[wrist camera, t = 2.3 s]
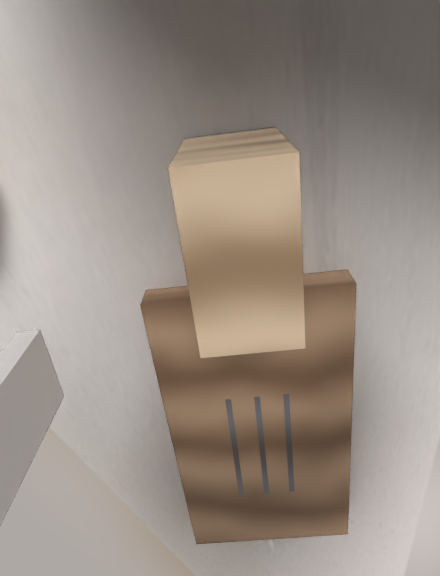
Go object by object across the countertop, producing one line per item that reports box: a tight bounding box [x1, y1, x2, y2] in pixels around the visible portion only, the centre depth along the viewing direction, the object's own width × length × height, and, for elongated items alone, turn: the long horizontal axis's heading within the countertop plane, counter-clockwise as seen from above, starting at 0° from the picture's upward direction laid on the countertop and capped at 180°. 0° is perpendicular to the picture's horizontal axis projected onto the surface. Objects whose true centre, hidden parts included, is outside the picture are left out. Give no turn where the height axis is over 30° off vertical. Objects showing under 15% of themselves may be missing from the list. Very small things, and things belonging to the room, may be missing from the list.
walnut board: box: [140, 270, 356, 544], centre depth 32 cm, size 24×13×2 cm, turn 7°
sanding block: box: [168, 127, 305, 358], centre depth 22 cm, size 9×5×8 cm, turn 7°
